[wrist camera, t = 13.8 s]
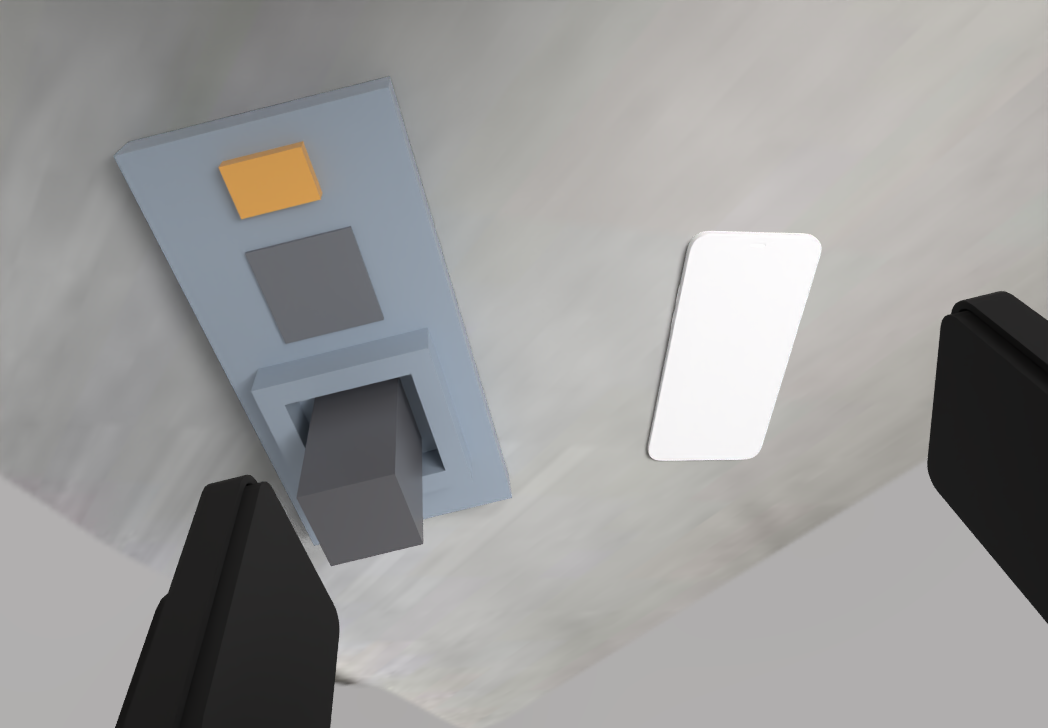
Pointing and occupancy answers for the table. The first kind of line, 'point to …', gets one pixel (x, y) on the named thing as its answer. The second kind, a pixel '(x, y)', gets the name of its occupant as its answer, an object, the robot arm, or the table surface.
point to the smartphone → (730, 342)
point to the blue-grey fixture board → (321, 276)
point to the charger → (363, 473)
